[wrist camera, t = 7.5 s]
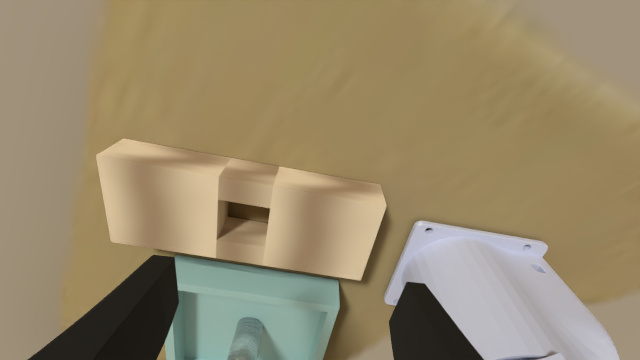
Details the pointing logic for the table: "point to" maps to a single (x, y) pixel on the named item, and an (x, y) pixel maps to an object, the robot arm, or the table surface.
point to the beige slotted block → (246, 188)
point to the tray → (250, 311)
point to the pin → (246, 339)
